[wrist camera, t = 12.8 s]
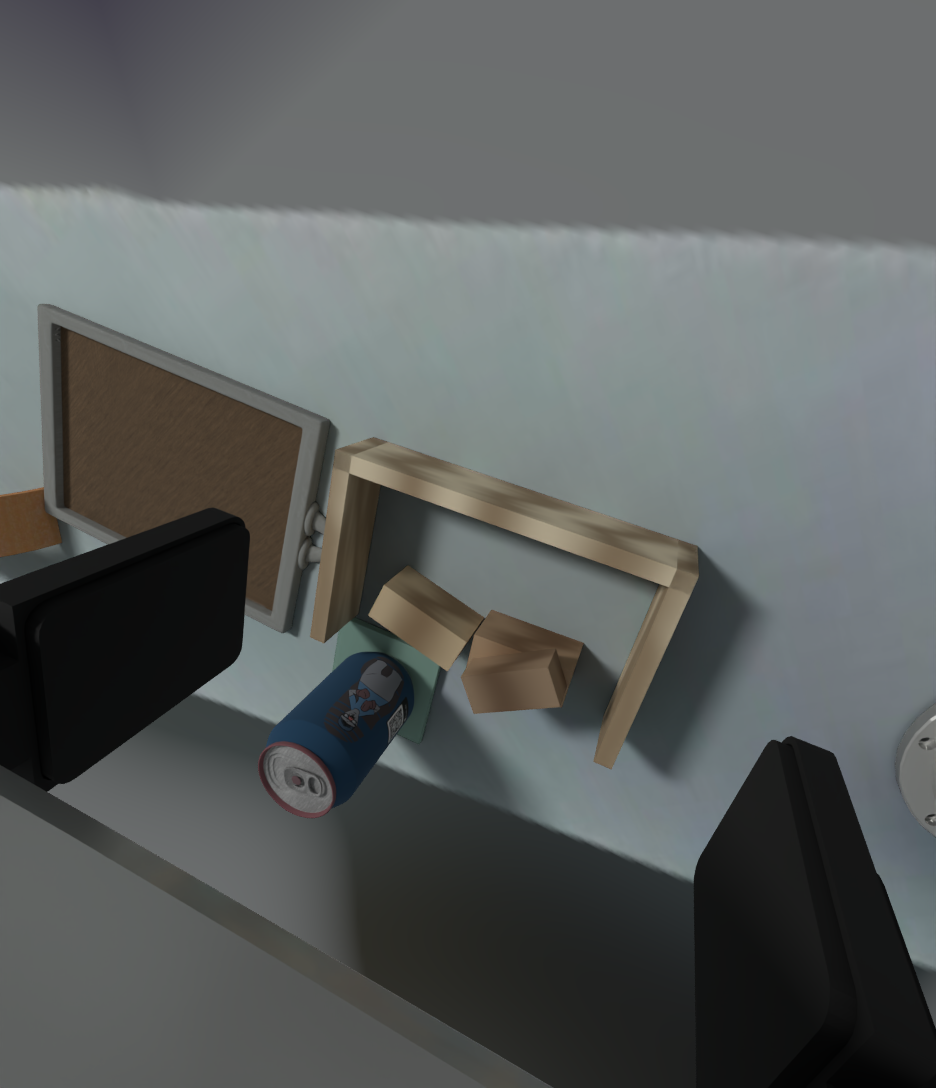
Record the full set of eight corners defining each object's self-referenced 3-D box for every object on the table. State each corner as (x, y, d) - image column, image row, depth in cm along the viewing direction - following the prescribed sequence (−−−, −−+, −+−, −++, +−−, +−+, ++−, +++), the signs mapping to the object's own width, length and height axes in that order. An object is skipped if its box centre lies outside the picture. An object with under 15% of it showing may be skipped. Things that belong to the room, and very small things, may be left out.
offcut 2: (583, 642, 40) (573, 671, 37) (572, 676, 42) (561, 707, 38) (492, 609, 42) (474, 634, 39) (483, 642, 43) (465, 669, 40)
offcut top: (555, 648, 37) (547, 667, 35) (567, 685, 37) (560, 707, 35) (472, 658, 39) (460, 676, 37) (484, 693, 40) (473, 713, 38)
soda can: (347, 706, 49) (254, 807, 39) (344, 636, 47) (244, 724, 36) (420, 726, 47) (343, 839, 37) (421, 654, 45) (339, 753, 34)
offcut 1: (484, 616, 43) (466, 642, 39) (466, 644, 44) (447, 671, 40) (408, 564, 43) (384, 585, 40) (393, 593, 45) (367, 615, 41)
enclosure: (697, 546, 35) (699, 576, 31) (619, 723, 41) (611, 769, 37) (373, 437, 41) (335, 449, 36) (345, 608, 47) (310, 637, 42)
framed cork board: (35, 302, 46) (354, 434, 40) (55, 303, 47) (365, 431, 41) (43, 512, 54) (309, 648, 48) (60, 507, 56) (320, 639, 50)
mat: (443, 655, 45) (441, 659, 44) (422, 740, 49) (419, 744, 48) (344, 613, 47) (340, 616, 46) (331, 698, 51) (327, 701, 50)
